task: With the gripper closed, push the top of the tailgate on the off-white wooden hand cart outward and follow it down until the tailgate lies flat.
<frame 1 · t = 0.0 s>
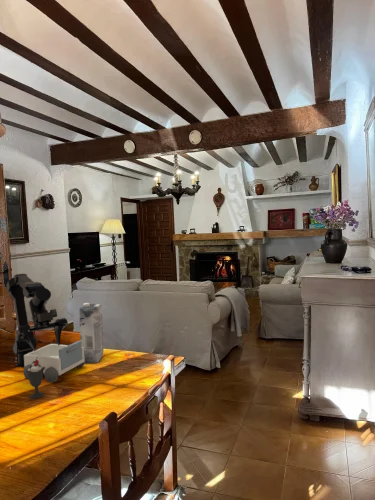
hand: (47, 347, 141), 15 cm above the table, tool tilted 35°, fingers open, 9 cm apart
sundae: (37, 396, 132), on the table
tailgate: (71, 354, 150), point 9 cm above the table, hinge at 0.0°
juice carton: (92, 360, 168), on the table
cart: (55, 372, 154), on the table
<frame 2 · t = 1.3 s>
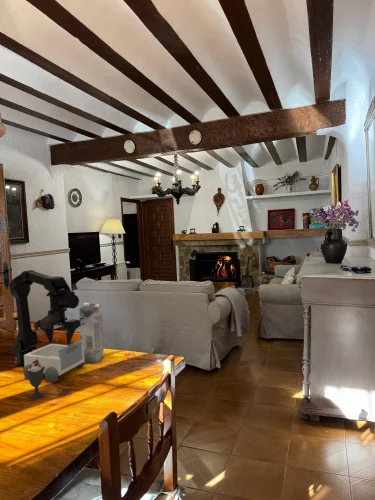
hand: (59, 343, 152), 13 cm above the table, tool pointing down, fingers open, 9 cm apart
nothing on the table moved.
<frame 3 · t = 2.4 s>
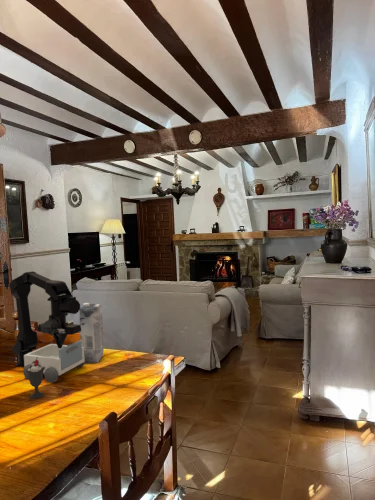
hand: (60, 348, 152), 11 cm above the table, tool pointing down, fingers closed
nothing on the table moved.
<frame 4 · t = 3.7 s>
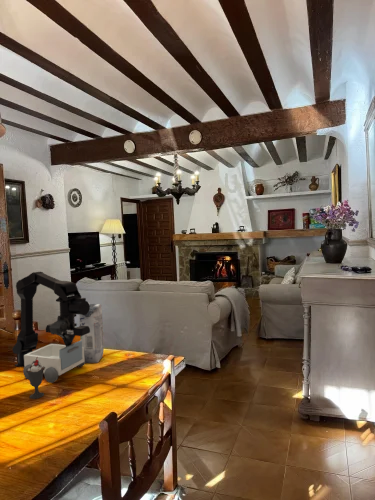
hand: (68, 349, 151), 11 cm above the table, tool pointing down, fingers closed
tailgate: (72, 354, 150), point 9 cm above the table, hinge at 3.0°, touching gripper
everything else where it was.
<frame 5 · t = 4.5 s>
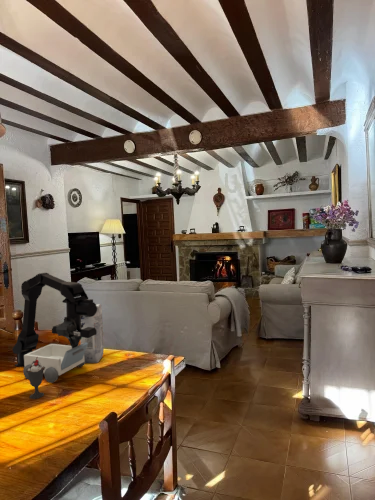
hand: (74, 350, 149), 11 cm above the table, tool pointing down, fingers closed, pressing on tailgate
tailgate: (75, 356, 149), point 8 cm above the table, hinge at 26.0°, touching gripper
everything else where it was.
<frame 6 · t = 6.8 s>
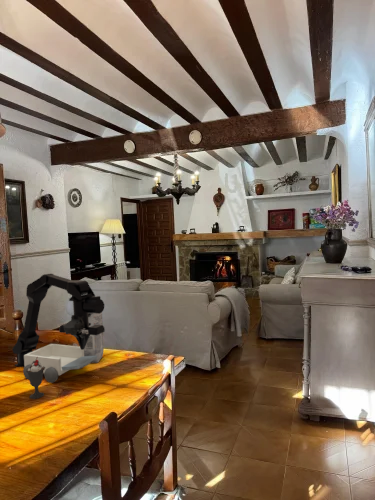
hand: (82, 349, 148), 12 cm above the table, tool pointing down, fingers closed
tailgate: (80, 363, 149), point 5 cm above the table, hinge at 80.5°
everything else where it was.
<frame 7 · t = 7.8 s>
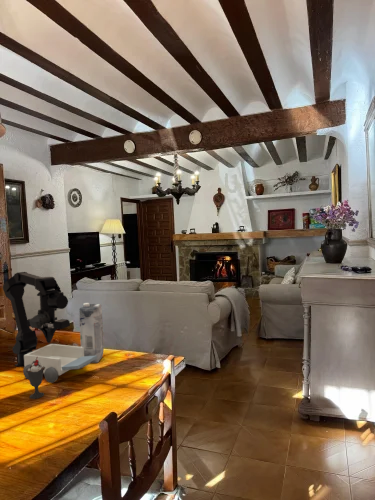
hand: (49, 342, 154), 13 cm above the table, tool pointing down, fingers closed
nothing on the table moved.
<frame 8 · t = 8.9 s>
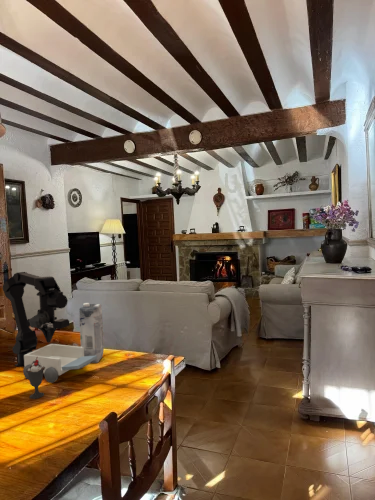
hand: (48, 342, 154), 13 cm above the table, tool pointing down, fingers closed
nothing on the table moved.
at the end: tailgate at +81° (first picture: +0°); sundae moved 0.2 cm from its start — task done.
